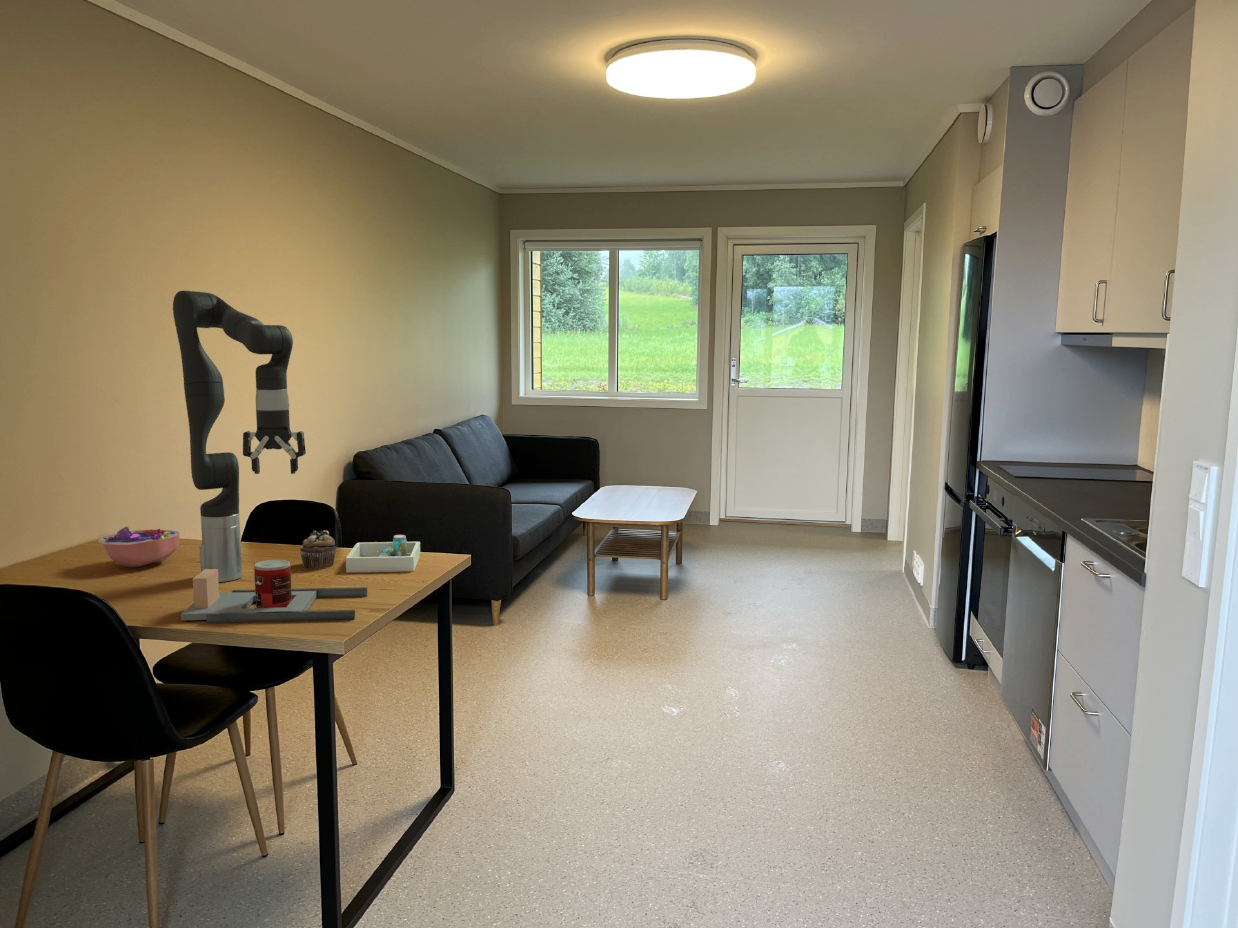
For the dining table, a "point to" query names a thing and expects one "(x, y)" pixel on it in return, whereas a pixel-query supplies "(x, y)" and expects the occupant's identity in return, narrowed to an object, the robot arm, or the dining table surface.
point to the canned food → (272, 584)
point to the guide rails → (294, 614)
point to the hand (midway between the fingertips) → (275, 473)
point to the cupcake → (318, 550)
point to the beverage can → (395, 547)
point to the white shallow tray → (381, 558)
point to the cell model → (140, 546)
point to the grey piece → (233, 599)
